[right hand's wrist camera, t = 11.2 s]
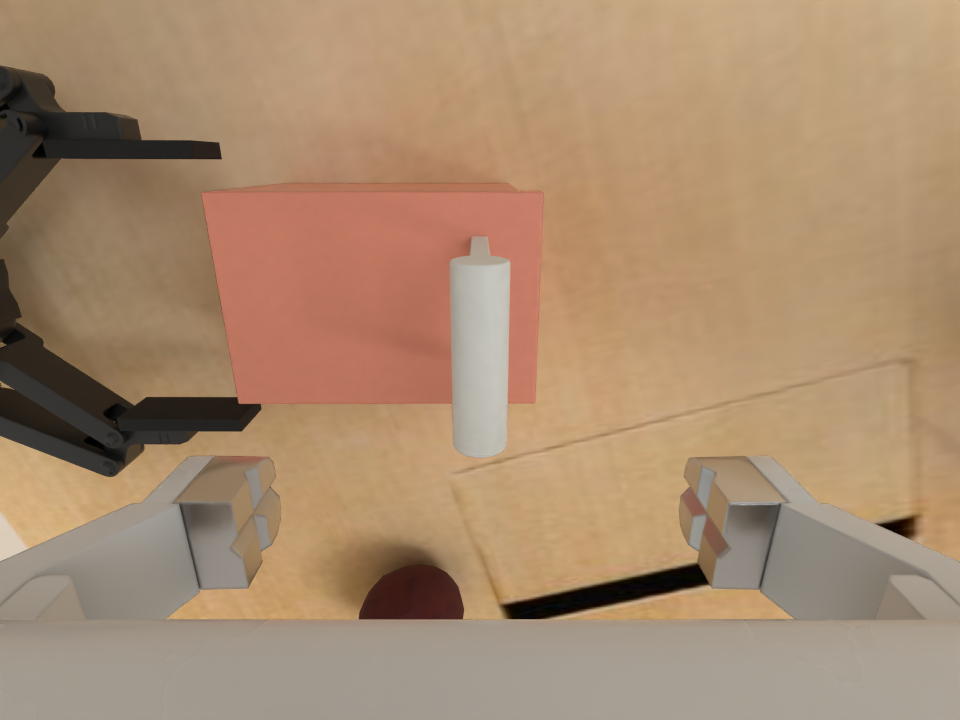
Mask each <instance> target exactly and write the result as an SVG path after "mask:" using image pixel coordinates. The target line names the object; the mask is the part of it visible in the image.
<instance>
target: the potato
mask: <svg viewBox="0 0 960 720" xmlns="http://www.w3.org/2000/svg"><path fill="white" fill-rule="evenodd" d="M463 614H464V607H463V603H462V599H461V595H460V591H459V588H458V586H457V584H456V583H455V581H454V580H453V579H452V578H451V577H450V576H449V575H448V574H447V573H446V572H445V571H443V570H441V569H438V568H436V567H432V566H427V565H416V566H405V567H403V568H401V569H398V570H396V571H394V572H391V573H389V574H386V575H384V576H383V577H382V578H381V579H380V580H379V581H378V582H377V583H376V584H375V585H374V587H373V588H372V589H371V590H370V592H369V593H368V595H367V597H366V599H365V601H364V603H363V606H362V608H361V611H360V613H359V620H463Z"/></svg>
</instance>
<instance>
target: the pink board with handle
mask: <svg viewBox="0 0 960 720" xmlns="http://www.w3.org/2000/svg"><path fill="white" fill-rule="evenodd" d="M543 195H544V194H543V192H541V191H209V192H202V193H201V196H202V201H203V207H204V212H205V218H206V224H207V229H208V235H209V240H210V246H211V252H212V257H213V263H214V268H215V274H216V280H217V285H218V291H219V297H220V302H221V308H222V313H223V319H224V325H225V330H226V336H227V341H228V347H229V353H230V358H231V364H232V369H233V375H234V381H235V386H236V392H237V397H238V403H239V404H420V403H452V408H453V445H454V447H455V449H456V450H457V451H458V452H459V453H461V454H463V455H466V456H469V457H476V458H484V457H491V456H494V455H497V454H499V453H501V452H502V451H503V450H504V449H505V447H506V445H507V411H508V403H535V394H536V370H537V345H538V320H539V295H540V270H541V245H542V220H543Z"/></svg>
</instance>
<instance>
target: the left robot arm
mask: <svg viewBox="0 0 960 720" xmlns="http://www.w3.org/2000/svg"><path fill="white" fill-rule="evenodd" d="M54 95H55V87H54V85H53V83H52V81H51V80H50V79H49V78H48V77H47V76H45V75H43V74H39V73H35V72H30V71H25V70H20V69H15V68H10V67H5V66H0V238H1V237H2V236H3V235H4V234H5V232H6V231H7V230H8V228H9V226H8V225H7V224H6V223H7V222H8V220H9V219H10V218H11V217H12V216H13V214H14V213H15V212H16V211H17V210H18V209H19V207H20V206H21V205H22V204H23V203H24V201H25V200H26V199H27V198H28V197H29V196H30V194H31V193H32V192H33V191H34V190H35V189H36V187H37V186H38V185H39V184H40V183H41V181H42V180H43V179H44V178H45V177H46V176H47V174H48V173H49V172H50V171H51V170H52V168H53V167H54V166H55V165H56V164H57V163H58V161H59V160H60V159H61V158H63V159H222V158H221V152H220V145H219V143H217V142H204V141H184V140H141V135H140V130H139V126H138V121H137V120H136V119H134V118H131V117H129V116H127V115H121V114H113V113H106V112H94V113H92V112H84V113H83V112H65V111H64V110H63V109H62V108H61V107H60V106H59V105H58V104H57V102H56V100H55V99H54ZM20 317H22V316H21V313H20V310H19V307H18V303H17V302H16V300H15V298H14V297H13V295H12V293H11V292H10V290H9V281H8V272H7V269H6V265H5V262H4V259H0V343H1V342H3V343H4V344H6V346H4V347H1V348H0V381H1V382H3V383H5V384H6V385H8V386H10V387H11V388H13V389H14V390H13V389H9V388H2V387H1V383H0V436H2V437H5V438H7V439H10V440H12V441H15V442H18V443H20V444H23V445H26V446H28V447H31V448H33V449H36V450H39V451H41V452H44V453H46V454H49V455H52V456H54V457H57V458H60V459H62V460H65V461H67V462H70V463H73V464H75V465H78V466H80V467H83V468H86V469H88V470H91V471H93V472H96V473H99V474H101V475H104V476H108V477H113V476H115V475H117V474H118V473H119V472H120V471H122V470H123V469H124V468H125V467H126V466H127V465H129V464H130V463H131V462H132V461H133V460H134V459H135V458H137V457H138V456H139V455H140V454H141V453H142V452H143V451H144V447H145V446H144V444H182V443H185V442H187V441H189V440H190V439H191V438H192V437H193V436H194V435H195V434H196V433H197V432H198V431H242V430H243V429H244V428H245V427H246V426H247V425H248V424H249V423H250V421H251V420H252V419H253V418H254V417H255V416H256V415H257V414H258V412H259V411H260V410H261V404H239V403H238V397H146V398H145V399H143V400H142V401H141V402H139V403H138V404H136V405H135V406H134V405H133V404H131V403H129V402H128V401H126V400H125V399H123V398H122V397H120V396H119V395H117V394H115V393H114V392H112V391H111V390H109V389H108V388H106V387H105V386H103V385H102V384H100V383H98V382H97V381H95V380H94V379H92V378H91V377H89V376H88V375H86V374H84V373H83V372H81V371H80V370H78V369H77V368H75V367H74V366H72V365H70V364H69V363H67V362H66V361H64V360H63V359H61V358H60V357H58V356H56V355H55V354H53V353H52V352H50V351H49V350H47V349H46V348H44V346H43V343H44V342H43V340H42V339H41V338H40V337H39V336H37V335H35V334H34V333H32V332H31V331H29V330H28V329H26V328H25V327H23V326H22V325H20V324H18V323H17V322H16V319H17V318H20ZM113 421H114V422H115V423H114V422H113Z"/></svg>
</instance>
